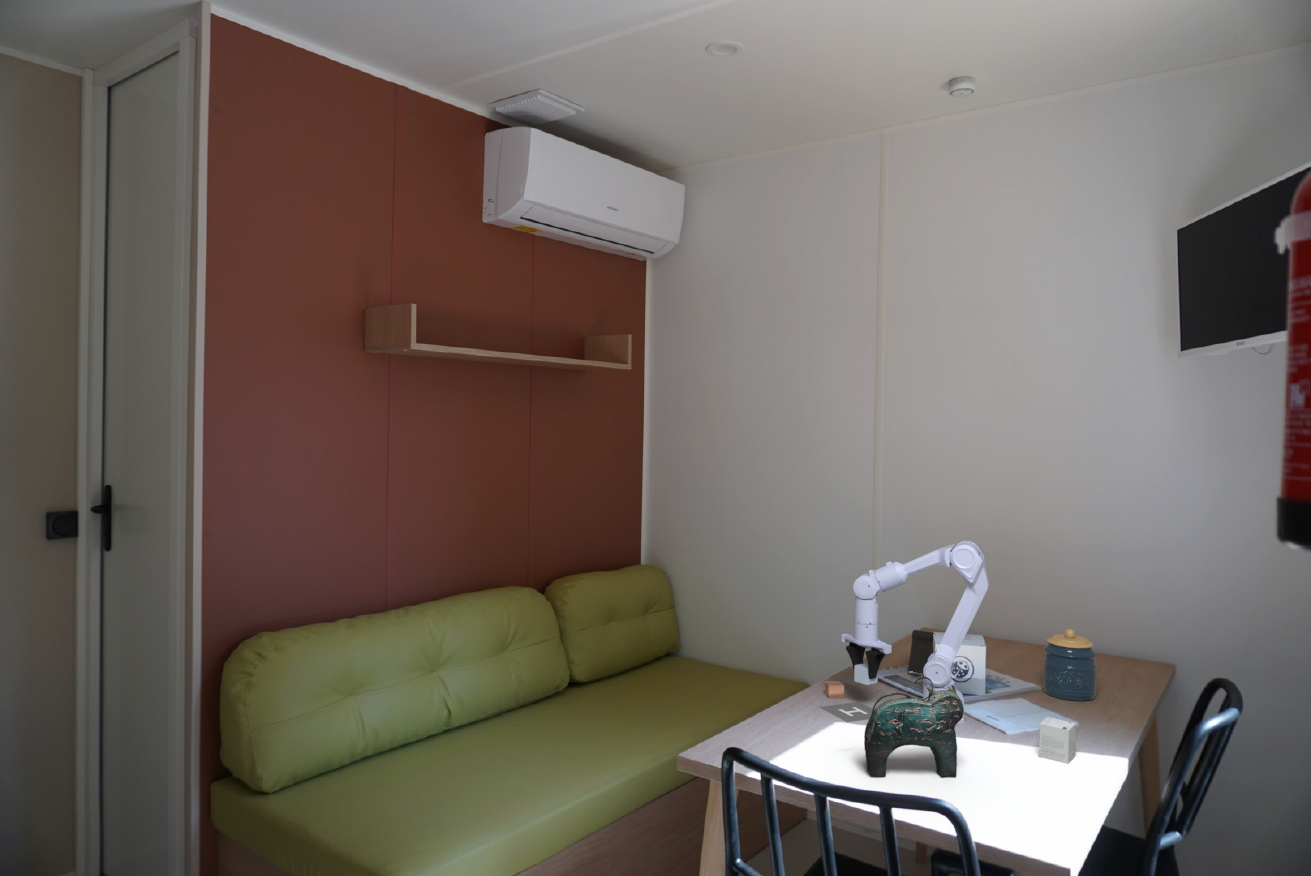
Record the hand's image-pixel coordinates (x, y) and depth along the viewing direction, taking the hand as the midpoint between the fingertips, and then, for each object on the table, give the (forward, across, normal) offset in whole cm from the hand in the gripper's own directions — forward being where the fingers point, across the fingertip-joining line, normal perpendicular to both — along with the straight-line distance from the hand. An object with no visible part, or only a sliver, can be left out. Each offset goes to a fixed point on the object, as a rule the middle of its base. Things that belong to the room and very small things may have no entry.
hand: (865, 676), depth 212 cm
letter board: (+8, -1, +5) cm, 10 cm away
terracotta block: (+9, +10, 0) cm, 14 cm away
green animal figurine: (+9, -33, +24) cm, 42 cm away
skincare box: (+9, -44, -10) cm, 46 cm away
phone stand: (+9, +13, -41) cm, 44 cm away
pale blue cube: (+2, 0, 0) cm, 2 cm away
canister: (+9, -22, -56) cm, 61 cm away
